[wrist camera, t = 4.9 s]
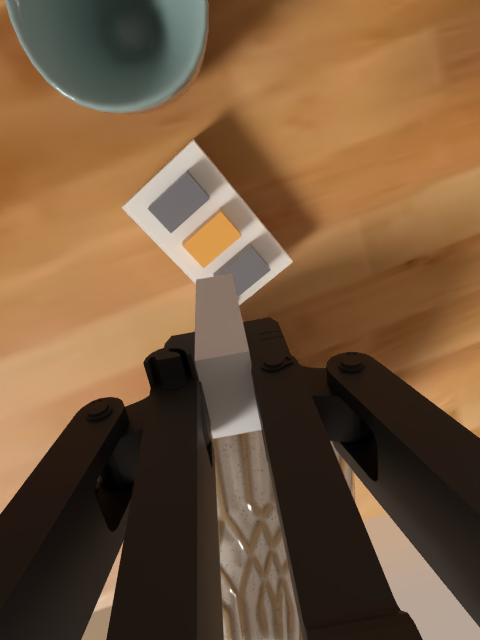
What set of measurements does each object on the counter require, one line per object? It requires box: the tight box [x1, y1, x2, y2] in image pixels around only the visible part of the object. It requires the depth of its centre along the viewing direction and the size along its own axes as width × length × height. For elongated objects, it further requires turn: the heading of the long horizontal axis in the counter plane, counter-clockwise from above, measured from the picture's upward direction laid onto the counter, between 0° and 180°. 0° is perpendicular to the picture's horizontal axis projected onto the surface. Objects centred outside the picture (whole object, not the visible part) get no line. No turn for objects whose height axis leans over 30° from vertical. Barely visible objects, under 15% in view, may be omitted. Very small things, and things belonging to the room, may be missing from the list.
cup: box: [5, 0, 209, 115], centre depth 21 cm, size 8×8×10 cm
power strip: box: [122, 139, 293, 305], centre depth 29 cm, size 10×6×4 cm, turn 40°
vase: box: [211, 430, 355, 640], centre depth 28 cm, size 16×16×20 cm
